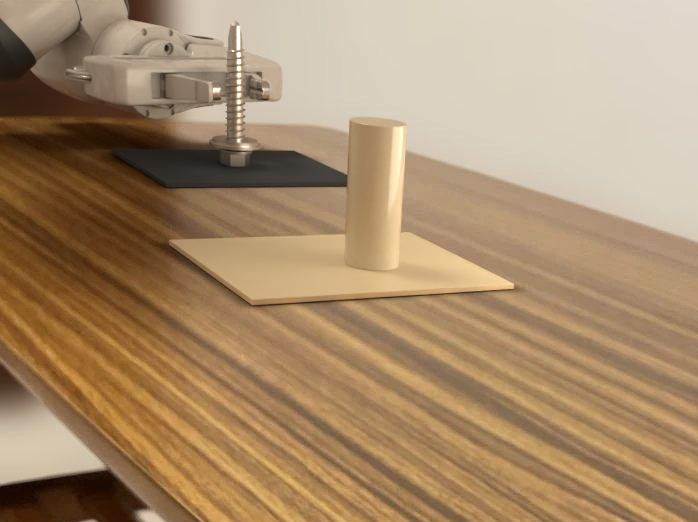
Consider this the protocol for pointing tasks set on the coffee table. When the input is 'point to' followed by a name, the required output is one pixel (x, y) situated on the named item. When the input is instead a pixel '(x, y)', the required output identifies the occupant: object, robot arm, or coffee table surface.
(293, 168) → the slate mat
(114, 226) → the coffee table surface
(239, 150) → the screw
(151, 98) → the robot arm
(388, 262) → the cream peg
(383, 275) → the cream mat
